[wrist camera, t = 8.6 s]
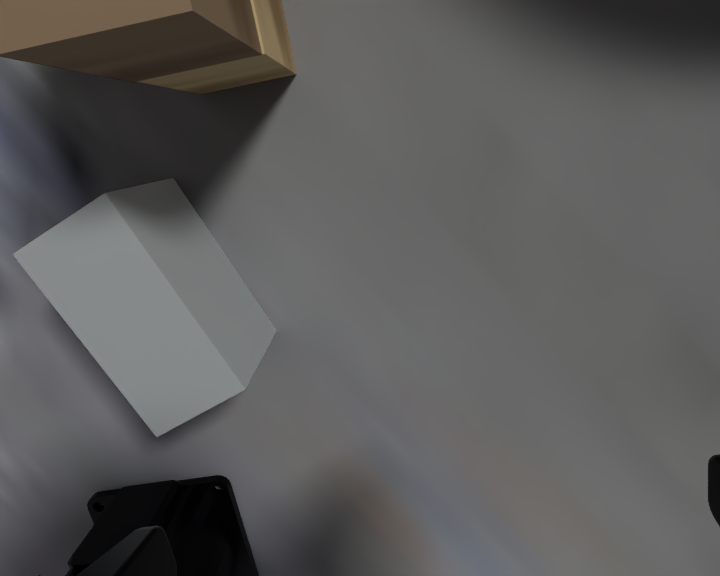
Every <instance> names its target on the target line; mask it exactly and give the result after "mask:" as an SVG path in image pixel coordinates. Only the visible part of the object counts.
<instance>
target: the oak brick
mask: <svg viewBox="0 0 720 576" xmlns="http://www.w3.org/2000/svg"><path fill="white" fill-rule="evenodd" d="M250 1H251V5H252V10H253V14H254V19H255V23H256V28H257V32H258V37H259V41H260V46H261V50H262V55H258V56H254V57H249V58H244V59H240V60H235V61H230V62H226V63H221V64H216V65H212V66H207V67H202V68H198V69H193V70H188V71H184V72H179V73H174V74H170V75H165V76H160V77H156V78H151V79H146V80H142V81H137V82H141V83H146V84H151V85H156V86H161V87H166V88H171V89H176V90H181V91H186V92H191V93H196V94H204V93H209V92H214V91H219V90H224V89H229V88H233V87H238V86H243V85H248V84H253V83H258V82H262V81H267V80H272V79H277V78H282V77H286V76H291V75H296V69H295V64H294V59H293V54H292V50H291V45H290V40H289V35H288V30H287V25H286V20H285V15H284V11H283V6H282V1H281V0H250Z"/></svg>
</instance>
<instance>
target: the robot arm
mask: <svg viewBox="0 0 720 576" xmlns="http://www.w3.org/2000/svg"><path fill="white" fill-rule="evenodd" d="M215 486H219V487H221V488H222V490H218V489H216V488H215ZM98 502H100V503H101V504H103V505H101V504H99V503H98ZM708 502H709V507H710V510H711V512H712V514H713V516H714V518H715V520H716V521H717V523H718V525H719V526H720V455H714V456H712V457H711V458H710V459H709V462H708ZM87 506H88V510H89V512H90V515H91V517H92V520H93V522H94V526H93V527H92V529H91V530H90V532H89V533H88V534H87V536H86V537H85V538H84V540H83V541H82V542H81V544H80V545H79V547H78V548H77V549H76V551H75V552H74V553H73V555H72V556H71V558H70V559H69V561H68V565H69V567H70V570H69V571H68V573H67V574H66V575H65V576H259V574H258V571H257V568H256V564H255V561H254V558H253V555H252V551H251V548H250V545H249V541H248V538H247V535H246V532H245V528H244V525H243V522H242V518H241V515H240V512H239V509H238V505H237V502H236V499H235V496H234V492H233V489H232V486H231V483H230V481H229V480H228V479H227V478H226V477H224V476H210V477H202V478H195V479H188V480H180V481H175V480H171V481H163V482H156V483H149V484H141V485H134V486H127V487H123V488H121V489H114V490H107V491H100V492H97V493H95V494H94V495H93V496H92V497H91V499H90V500H89V501H88V504H87ZM39 576H40V575H39Z"/></svg>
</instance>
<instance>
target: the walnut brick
mask: <svg viewBox="0 0 720 576" xmlns="http://www.w3.org/2000/svg"><path fill="white" fill-rule="evenodd" d="M258 55H262V50H261V46H260V41H259V37H258V32H257V28H256V23H255V19H254V14H253V10H252V5H251V1H250V0H0V57H5V58H10V59H15V60H20V61H26V62H31V63H36V64H41V65H46V66H51V67H56V68H62V69H67V70H72V71H77V72H82V73H87V74H92V75H97V76H103V77H108V78H113V79H118V80H123V81H128V82H137V81H142V80H146V79H151V78H156V77H160V76H165V75H170V74H174V73H179V72H184V71H188V70H193V69H198V68H202V67H207V66H212V65H216V64H221V63H226V62H230V61H235V60H240V59H244V58H249V57H254V56H258Z"/></svg>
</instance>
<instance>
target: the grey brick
mask: <svg viewBox="0 0 720 576" xmlns="http://www.w3.org/2000/svg"><path fill="white" fill-rule="evenodd" d="M13 256H14V257H15V258H16V259H17V261H18V262H19V263H20V264H21V266H22V267H23V268H24V270H25V271H26V272H27V273H28V275H29V276H30V277H31V278H32V280H33V281H34V282H35V284H36V285H37V286H38V287H39V289H40V290H41V291H42V292H43V294H44V295H45V296H46V297H47V299H48V300H49V301H50V303H51V304H52V305H53V306H54V308H55V309H56V310H57V311H58V313H59V314H60V315H61V317H62V318H63V319H64V320H65V322H66V323H67V324H68V325H69V327H70V328H71V329H72V331H73V332H74V333H75V334H76V336H77V337H78V338H79V339H80V341H81V342H82V343H83V344H84V346H85V347H86V348H87V350H88V351H89V352H90V353H91V355H92V356H93V357H94V358H95V360H96V361H97V362H98V364H99V365H100V366H101V367H102V369H103V370H104V371H105V372H106V374H107V375H108V376H109V378H110V379H111V380H112V381H113V383H114V384H115V385H116V386H117V388H118V389H119V390H120V391H121V393H122V394H123V395H124V397H125V398H126V399H127V400H128V402H129V403H130V404H131V405H132V407H133V408H134V409H135V411H136V412H137V413H138V414H139V416H140V417H141V418H142V419H143V421H144V422H145V423H146V425H147V426H148V427H149V428H150V430H151V431H152V432H153V433H154V435H155V436H156V437H158V436H160V435H162V434H164V433H166V432H168V431H170V430H171V429H173V428H175V427H177V426H179V425H181V424H182V423H184V422H186V421H188V420H190V419H192V418H194V417H195V416H197V415H199V414H201V413H203V412H205V411H207V410H208V409H210V408H212V407H214V406H216V405H218V404H220V403H221V402H223V401H225V400H227V399H229V398H231V397H233V396H234V395H236V394H238V393H240V392H242V391H244V390H245V389H246V388H247V386H248V384H249V382H250V380H251V378H252V376H253V374H254V373H255V371H256V369H257V367H258V365H259V363H260V361H261V359H262V357H263V356H264V354H265V352H266V350H267V348H268V346H269V344H270V342H271V341H272V339H273V337H274V335H275V333H276V329H275V328H274V326H273V325H272V323H271V322H270V321H269V319H268V318H267V316H266V315H265V313H264V312H263V310H262V309H261V307H260V306H259V304H258V303H257V301H256V300H255V298H254V297H253V295H252V294H251V292H250V291H249V289H248V288H247V286H246V285H245V283H244V282H243V280H242V279H241V278H240V276H239V275H238V273H237V272H236V270H235V269H234V267H233V266H232V264H231V263H230V261H229V260H228V258H227V257H226V255H225V254H224V252H223V251H222V249H221V248H220V246H219V245H218V243H217V242H216V240H215V239H214V238H213V236H212V235H211V233H210V232H209V230H208V229H207V227H206V226H205V224H204V223H203V221H202V220H201V218H200V217H199V215H198V214H197V212H196V211H195V209H194V208H193V206H192V205H191V203H190V202H189V200H188V199H187V197H186V196H185V195H184V193H183V192H182V190H181V189H180V187H179V186H178V184H177V183H176V181H175V180H174V178H170V179H165V180H161V181H156V182H152V183H147V184H143V185H138V186H134V187H129V188H125V189H120V190H116V191H111V192H107V193H104V194H102V195H101V196H99V197H98V198H96V199H95V200H93V201H92V202H90V203H89V204H87V205H86V206H84V207H83V208H81V209H80V210H78V211H77V212H75V213H74V214H72V215H71V216H69V217H68V218H66V219H65V220H63V221H62V222H60V223H59V224H57V225H56V226H54V227H53V228H51V229H50V230H48V231H47V232H45V233H44V234H42V235H41V236H39V237H38V238H36V239H35V240H33V241H32V242H30V243H29V244H27V245H26V246H24V247H23V248H21V249H20V250H18V251H17V252H15V253H14V254H13Z"/></svg>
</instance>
